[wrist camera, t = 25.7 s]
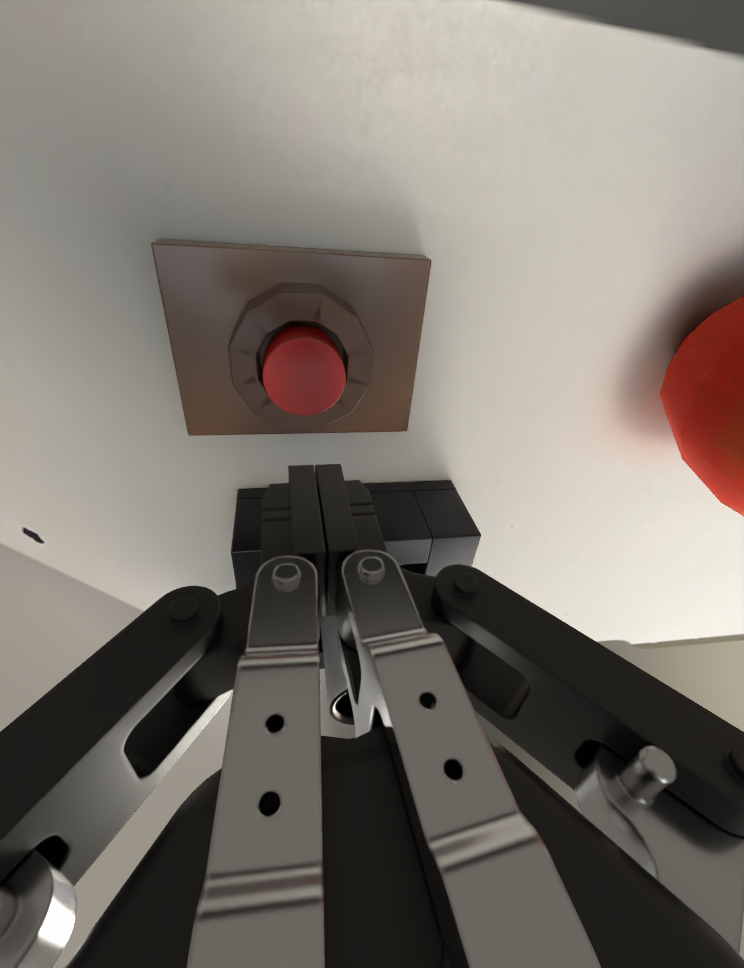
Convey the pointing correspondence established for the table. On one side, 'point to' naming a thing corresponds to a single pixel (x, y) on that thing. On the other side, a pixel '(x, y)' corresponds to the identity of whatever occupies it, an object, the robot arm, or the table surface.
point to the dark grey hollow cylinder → (335, 672)
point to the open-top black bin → (403, 522)
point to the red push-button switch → (282, 304)
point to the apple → (711, 402)
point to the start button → (303, 371)
